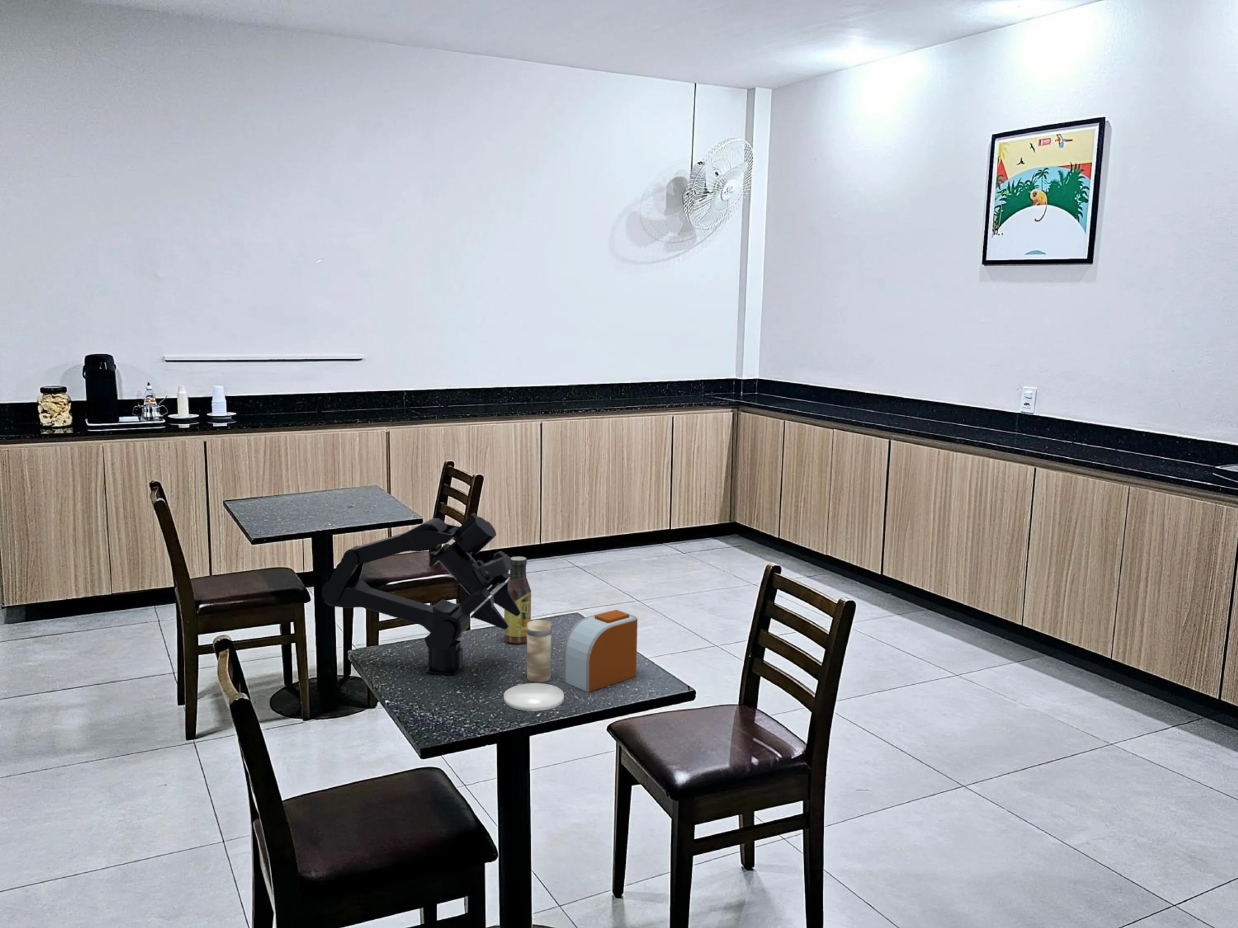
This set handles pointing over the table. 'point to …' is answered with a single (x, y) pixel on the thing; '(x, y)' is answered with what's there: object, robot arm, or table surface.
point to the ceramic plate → (533, 697)
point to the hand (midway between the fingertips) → (513, 621)
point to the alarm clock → (601, 650)
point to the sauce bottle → (518, 602)
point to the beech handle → (539, 650)
